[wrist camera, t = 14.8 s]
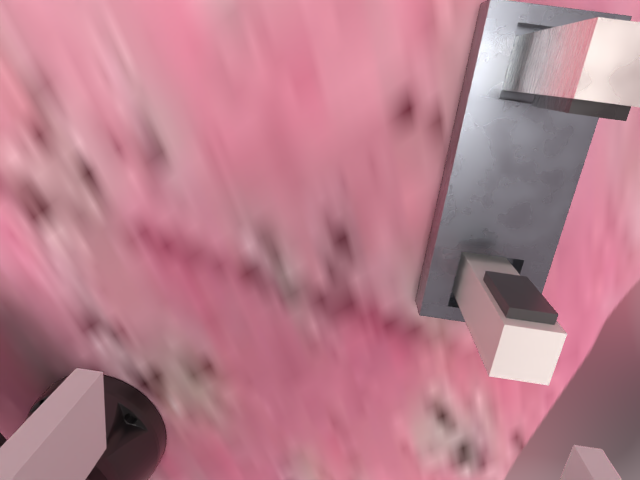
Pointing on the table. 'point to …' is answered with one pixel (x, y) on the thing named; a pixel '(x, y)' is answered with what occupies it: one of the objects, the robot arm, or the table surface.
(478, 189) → the grey and white block
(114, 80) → the table surface
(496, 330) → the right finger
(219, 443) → the table surface
